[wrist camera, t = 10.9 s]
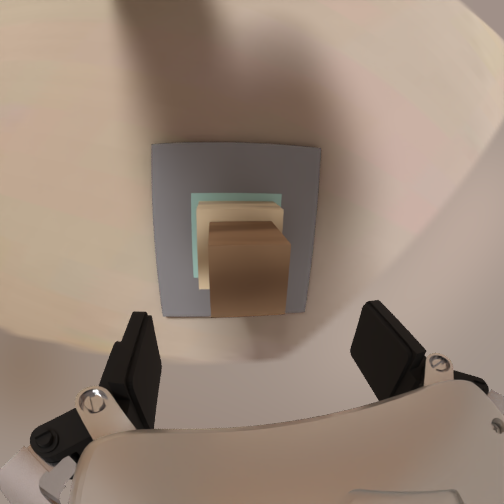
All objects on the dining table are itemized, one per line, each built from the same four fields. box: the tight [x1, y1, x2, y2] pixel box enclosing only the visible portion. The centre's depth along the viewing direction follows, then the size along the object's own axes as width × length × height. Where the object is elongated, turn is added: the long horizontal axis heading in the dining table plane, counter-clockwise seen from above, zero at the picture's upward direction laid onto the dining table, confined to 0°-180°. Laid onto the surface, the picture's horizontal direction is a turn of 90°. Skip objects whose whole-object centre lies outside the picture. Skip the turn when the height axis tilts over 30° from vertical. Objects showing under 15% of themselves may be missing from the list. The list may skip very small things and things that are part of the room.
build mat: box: [152, 142, 321, 316], centre depth 27 cm, size 18×16×1 cm
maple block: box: [196, 201, 284, 289], centre depth 25 cm, size 7×7×4 cm
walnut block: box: [208, 221, 291, 318], centre depth 20 cm, size 5×5×6 cm
